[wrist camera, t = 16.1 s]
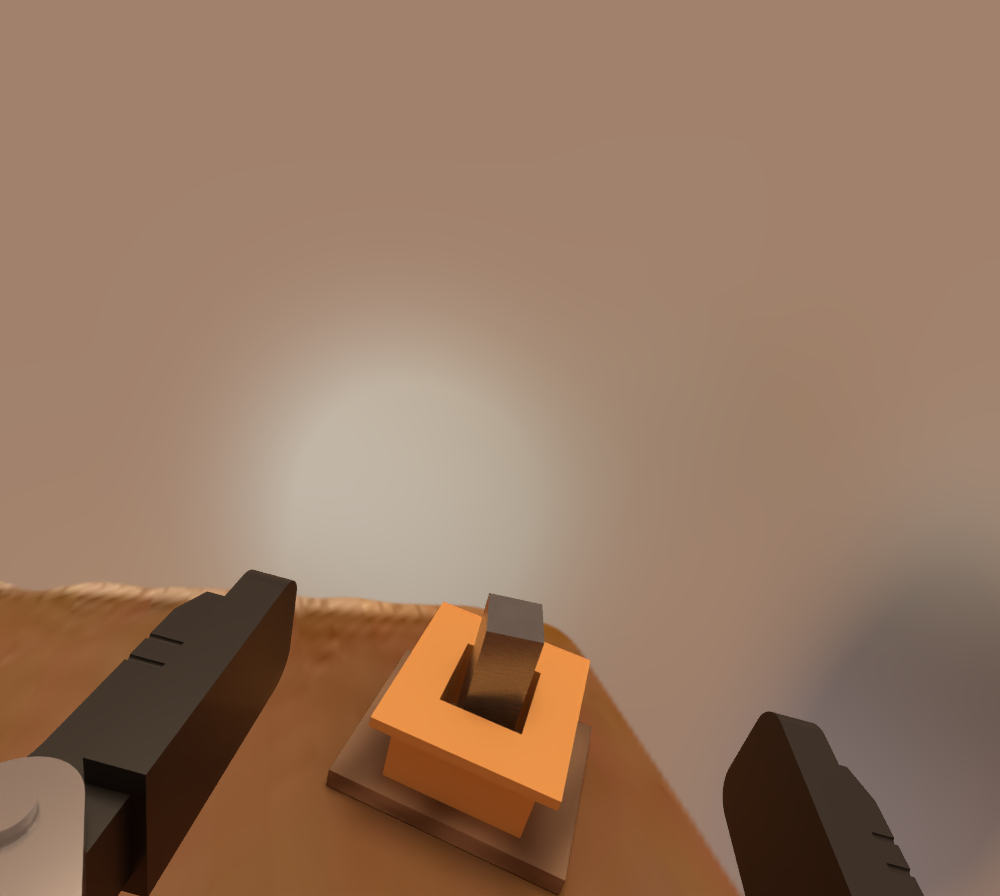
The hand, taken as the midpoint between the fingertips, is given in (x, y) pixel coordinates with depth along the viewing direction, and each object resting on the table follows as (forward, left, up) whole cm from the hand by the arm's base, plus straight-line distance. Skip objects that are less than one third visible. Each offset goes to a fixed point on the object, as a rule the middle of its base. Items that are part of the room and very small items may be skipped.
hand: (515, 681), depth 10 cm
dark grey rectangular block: (-2, +22, -28) cm, 36 cm away
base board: (-2, +22, -30) cm, 37 cm away
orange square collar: (-2, +22, -29) cm, 36 cm away
